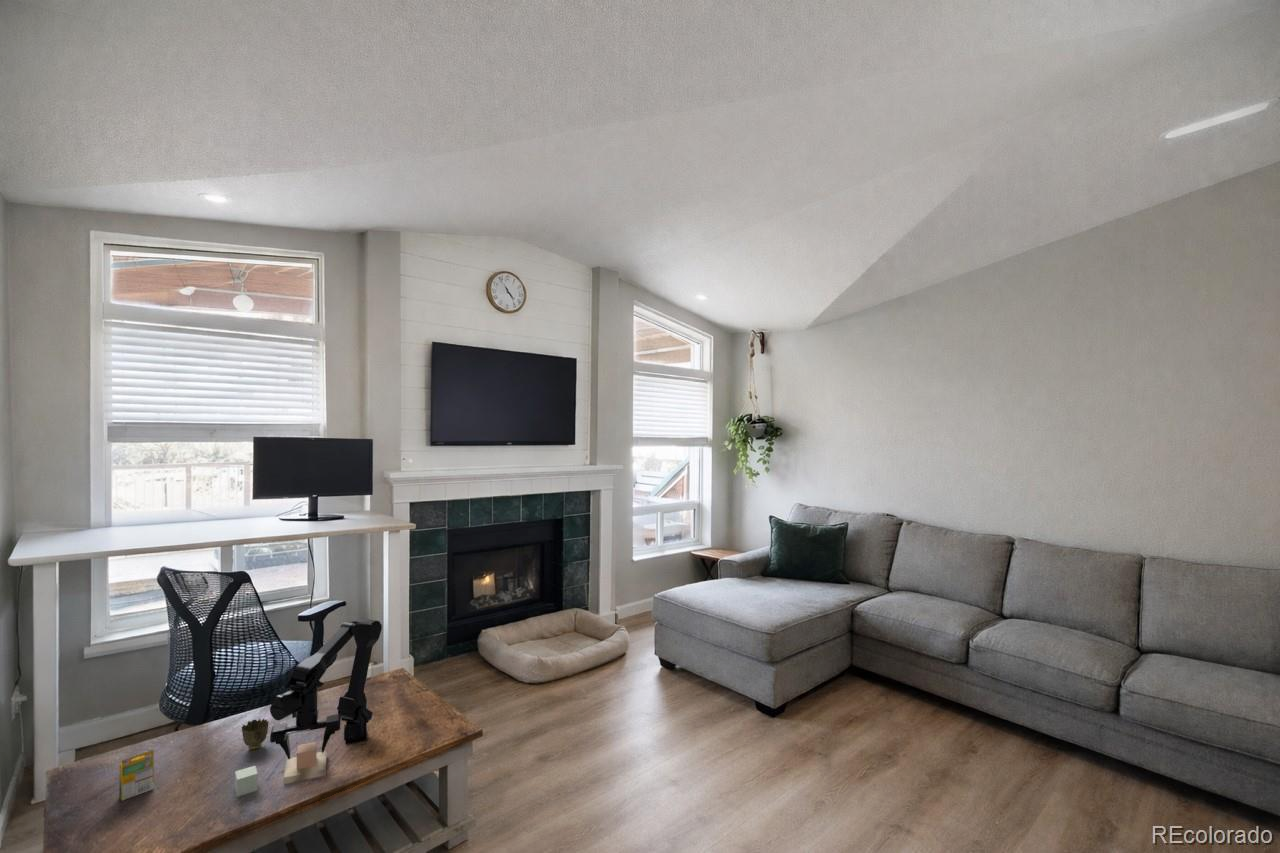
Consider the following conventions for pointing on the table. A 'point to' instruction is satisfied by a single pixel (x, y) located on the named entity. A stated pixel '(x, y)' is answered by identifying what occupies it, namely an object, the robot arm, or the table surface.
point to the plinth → (305, 769)
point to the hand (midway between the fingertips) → (306, 755)
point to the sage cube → (246, 780)
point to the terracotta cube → (306, 755)
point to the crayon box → (136, 775)
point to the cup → (255, 733)
